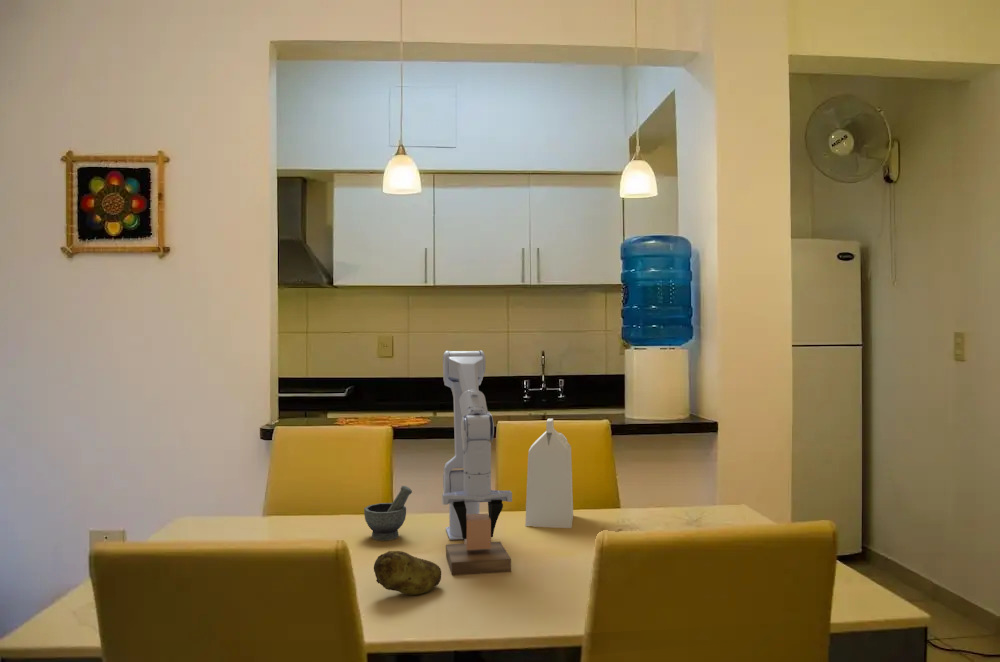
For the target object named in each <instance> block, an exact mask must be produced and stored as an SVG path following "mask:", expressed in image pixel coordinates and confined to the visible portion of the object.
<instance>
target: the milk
mask: <svg viewBox="0 0 1000 662" xmlns="http://www.w3.org/2000/svg"><path fill="white" fill-rule="evenodd" d="M545 425H546V429H545V431H544V432H543V433H542V434H541V435H540V436H539V437H538V438H537V439H536V440H535V441H534V442H533V443H532V444H531V445H530V447H529V449H528V455H527V472H526V473H527V477H526V498H525V499H526V500H525V524H524V526H525V527H527V526H533V528H534V527H535V528H557V529H559V528H561V529H572V528H573V527H572V526H573V520H574V502H573V501H574V500H573V498H574V497H573V467H572V466H573V465H572V464H573V463H572V445H571V444H570V443H569V442H568V438H567V437H566V436H565V434H564V433H562V432H559V431H557V430H556V429H555V426H554V418H547V420H546V424H545Z"/></svg>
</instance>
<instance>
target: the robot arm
mask: <svg viewBox="0 0 1000 662" xmlns="http://www.w3.org/2000/svg"><path fill="white" fill-rule="evenodd" d="M486 364H487V363H486V355H485V352H484V351H483V350H480V349H479V350H468V351H467V350H452V351H451V350H445V351H444V353H443V355H442V375H443V383H444V386H445V387H448V388H450V390H451V392H452V397H453V429H454V433H453V434H454V456H453V457H452V458H450V459H449V460H448V461H447V462H445V464H444V467H443V477H442V479H443V480H442V482H443V483H442V486H443V487H442V488H443V493H442V495H441V497H442V499H441V501H442V505H445V506H446V505H448V506H449V511H448V512H449V515H448V516H449V517H448V518H449V526H446V527H445V531H446V534H447V536H448V539H449V541H452V540H453V541H454V540H464V539H466V514H480V503H487V511H488V515H489V517H490V519H491V538H494V532H495V528H496V524H497V521H498V519H499V516H500V514H501V513H502V510H503V508H504V503H503V502H508V503H510V502H511V503H512V502H513V492H512V491H511V490H496V489H495V490H494V489H493V490H492V486H491V485H492V480H491V479H492V466H491V465H492V455H491V453H492V443H491V442H493V440H494V435H495V423H494V419H493V418H494V417H493V414H492V413H491V411H488V406H487V401H486V396H485V394H484V393H483V391H481V390H479V386H481V384H482V381H483V378H484V376H485V373H486ZM453 469H454V470H453Z"/></svg>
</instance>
